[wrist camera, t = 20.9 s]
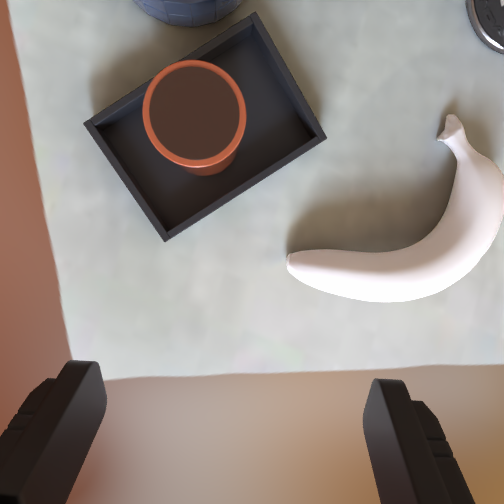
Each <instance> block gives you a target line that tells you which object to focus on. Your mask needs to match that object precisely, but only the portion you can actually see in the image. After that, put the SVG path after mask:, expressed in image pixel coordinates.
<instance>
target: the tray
mask: <svg viewBox="0 0 504 504" xmlns="http://www.w3.org/2000/svg"><path fill="white" fill-rule="evenodd" d="M183 60H201V61H206V62H209V63H212V64H214V65H216V66H218V67H220V68H221V69H223V70H224V71H225V72H227V73H228V74H229V75H230V76H231V77H232V78H233V80H234V81H235V82H236V84H237V85H238V87H239V88H240V90H241V92H242V95H243V98H244V101H245V105H246V113H247V115H246V126H245V130H244V134H243V137H242V140H241V143H240V146H239V149H238V152H237V155H236V157H235V159H234V161H233V162H232V163H231V165H230V166H229V167H228V168H226V169H225V170H224V171H222V172H220V173H218V174H216V175H212V176H197V175H194V174H191V173H189V172H187V171H185V170H184V169H182V168H181V167H179V166H178V165H176V164H175V163H173V162H172V161H170V160H169V159H167V158H166V157H165V156H163V155H162V154H161V153H160V152H159V151H158V150H157V149H156V148H155V146H154V145H153V144H152V142H151V141H150V139H149V137H148V135H147V132H146V130H145V126H144V123H143V114H142V108H143V101H144V96H145V93H146V91H147V88H148V86H149V85H150V83H151V81H152V80H153V79H154V78H152V79H151V80H149V81H148V82H146V83H144V84H143V85H141V86H140V87H138V88H137V89H135V90H134V91H132V92H131V93H129V94H127V95H126V96H124V97H123V98H121V99H120V100H118V101H117V102H115V103H114V104H112V105H111V106H109V107H107V108H106V109H104V110H103V111H101V112H100V113H98V114H97V115H95V116H94V117H92V118H91V119H89V120H87V121H86V122H84V123H83V124H84V126H85V127H86V128H87V130H88V131H89V133H90V134H91V136H92V137H93V139H94V140H95V142H96V143H97V145H98V146H99V147H100V149H101V150H102V152H103V153H104V155H105V156H106V158H107V159H108V161H109V162H110V163H111V165H112V166H113V168H114V169H115V171H116V172H117V174H118V175H119V177H120V178H121V180H122V181H123V182H124V184H125V185H126V187H127V188H128V190H129V191H130V193H131V194H132V196H133V197H134V198H135V200H136V201H137V203H138V204H139V206H140V207H141V209H142V210H143V212H144V213H145V215H146V216H147V217H148V219H149V220H150V222H151V223H152V225H153V226H154V228H155V229H156V231H157V232H158V233H159V235H160V236H161V238H162V239H163V241H164V242H166V241H168V240H169V239H171V238H173V237H174V236H176V235H177V234H179V233H180V232H182V231H183V230H185V229H187V228H188V227H190V226H191V225H193V224H194V223H196V222H198V221H199V220H201V219H202V218H204V217H205V216H207V215H208V214H210V213H212V212H213V211H215V210H216V209H218V208H219V207H221V206H223V205H224V204H226V203H227V202H229V201H230V200H232V199H233V198H235V197H237V196H238V195H240V194H241V193H243V192H244V191H246V190H248V189H249V188H251V187H252V186H254V185H255V184H257V183H258V182H260V181H262V180H263V179H265V178H266V177H268V176H269V175H271V174H273V173H274V172H276V171H277V170H279V169H280V168H282V167H283V166H285V165H287V164H288V163H290V162H291V161H293V160H294V159H296V158H297V157H299V156H301V155H302V154H304V153H305V152H307V151H308V150H310V149H312V148H313V147H315V146H316V145H318V144H319V143H321V142H322V141H324V140H326V139H327V137H326V135H325V133H324V132H323V130H322V128H321V126H320V124H319V123H318V121H317V119H316V117H315V116H314V114H313V112H312V110H311V108H310V107H309V105H308V103H307V101H306V100H305V98H304V96H303V94H302V92H301V91H300V89H299V87H298V85H297V84H296V82H295V80H294V78H293V76H292V75H291V73H290V71H289V69H288V68H287V66H286V64H285V62H284V61H283V59H282V57H281V55H280V53H279V52H278V50H277V48H276V46H275V45H274V43H273V41H272V39H271V37H270V36H269V34H268V32H267V30H266V29H265V27H264V25H263V23H262V21H261V20H260V18H259V16H258V14H257V13H256V12H254V13H252V14H251V15H250V16H248V17H246V18H245V19H243V20H242V21H240V22H238V23H237V24H235V25H234V26H232V27H231V28H229V29H228V30H226V31H225V32H223V33H221V34H220V35H218V36H217V37H215V38H214V39H212V40H211V41H209V42H208V43H206V44H205V45H203V46H201V47H200V48H198V49H197V50H195V51H194V52H192V53H191V54H189V55H188V56H186V57H184V58H183V59H181V60H180V61H183ZM178 62H179V61H178Z"/></svg>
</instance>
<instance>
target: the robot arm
mask: <svg viewBox="0 0 504 504" xmlns="http://www.w3.org/2000/svg"><path fill="white" fill-rule="evenodd" d="M466 4H467V11H468V16H469V19H470V22H471V25H472V27H473V29H474V31H475V32H476V34H477V36H478V37H479V38H480V39H481V40H482V41H483V43H484V44H486V45H487V46H488V47H489V48H491V49H493V50H494V51H496V52H498V53H501V54H504V0H466ZM106 405H107V395H106V391H105V387H104V383H103V378H102V374H101V370H100V366H99V364H98V362H96V361H78V360H70V361H68V362H67V363H66V364H65V366H64V367H63V369H62V370H61V372H60V373H59V375H58V376H57V378H56V379H53V378H47V379H46V380H45V381H44V382H42V383H41V384H40V385H39V386H38V387H37V388H35V389H34V390H33V391H32V392H31V393H30V394H29V395H28V397H27V398H26V400H25V401H24V402H23V404H22V405H21V407H20V408H19V410H18V413H17V414H15V416H14V417H13V419H12V420H11V422H10V423H9V425H8V428H7V429H6V430H4V432H3V433H2V435H1V436H0V504H65V503H66V501H67V499H68V496H69V494H70V492H71V490H72V488H73V485H74V483H75V481H76V478H77V476H78V474H79V472H80V469H81V467H82V465H83V463H84V460H85V458H86V456H87V454H88V451H89V449H90V447H91V444H92V442H93V440H94V438H95V435H96V433H97V430H98V429H99V426H100V424H101V421H102V419H103V417H104V414H105V410H106ZM363 428H364V435H365V439H366V443H367V447H368V452H369V456H370V460H371V464H372V468H373V472H374V477H375V481H376V485H377V488H378V493H379V497H380V502H381V504H475V502H474V500H473V497H472V495H471V493H470V491H469V488H468V486H467V484H466V482H465V480H464V477H463V475H462V473H461V470H460V468H459V466H458V464H457V461H456V459H455V458H454V457H453V452H452V450H451V448H450V446H449V443H448V442H447V441H446V437H445V434H444V432H443V430H442V428H441V425H440V423H439V421H438V419H437V418H436V416H435V415H434V414H433V413H432V412H431V410H430V409H429V408H428V407H427V406H426V405H425V404H424V402H423V401H413V400H411V399H410V395H409V393H408V390H407V388H406V386H405V384H404V382H403V381H402V380H393V379H374V380H373V382H372V385H371V389H370V392H369V395H368V399H367V402H366V405H365V409H364V413H363Z"/></svg>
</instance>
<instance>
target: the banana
mask: <svg viewBox="0 0 504 504" xmlns="http://www.w3.org/2000/svg"><path fill="white" fill-rule="evenodd" d="M437 141H442V142H443V143H445V144H446V145H447V146H448V147H449V148H450V149H451V150H452V152H453V153H454V155H455V157H456V159H457V170H456V175H455V180H454V184H453V188H452V192H451V196H450V199H449V203H448V205H447V208H446V210H445V213H444V215H443V217H442V218H441V220H440V222H439V223H438V224H437V226H436V227H435V228H434V229H433V230H432V231H431V232H430V233H429V234H428V235H427V236H426V237H425V238H423V239H422V240H420V241H419V242H417V243H416V244H414V245H411V246H409V247H406V248H403V249H400V250H395V251H389V252H380V253H369V252H357V251H346V250H333V249H316V250H306V251H299V252H295V253H292V254H291V253H290V254H289V255H288V256H287V259H286V265H287V268H288V271H289V272H290V273H291V274H292V275H293V276H294V277H296V278H297V279H299V280H300V281H302V282H304V283H305V284H307V285H310V286H312V287H314V288H317V289H320V290H322V291H326V292H329V293H333V294H336V295H340V296H345V297H349V298H354V299H359V300H365V301H373V302H397V301H408V300H413V299H417V298H421V297H425V296H428V295H431V294H434V293H437V292H439V291H441V290H443V289H445V288H447V287H448V286H450V285H452V284H453V283H455V282H456V281H458V280H459V279H460V278H462V277H463V276H464V275H465V274H467V273H468V272H469V271H470V270H471V269H472V268H473V267H474V266H475V265H476V264H477V262H478V261H479V259H480V258H481V257H482V256H483V255H484V253H485V252H486V251H487V250H488V249H489V247H490V245H491V244H492V242H493V240H494V238H495V236H496V234H497V232H498V229H499V227H500V224H501V221H502V218H503V215H504V177H503V174H502V172H501V170H500V169H499V167H498V166H497V165H496V164H495V163H494V162H493V161H491V160H490V159H489V158H487V157H485V156H483V155H481V154H479V153H478V152H477V151H476V150H475V149H474V148H473V147H472V146H471V145H470V144H469V142H468V141H467V139H466V136H465V130H464V127H463V125H462V123H461V122H460V120H459V118H458V117H457V116H456V115H451V114H449V115H447V117H446V124H445V130H444V131H443V132H442V133H441V134H440V136H439V137H438V138H437Z"/></svg>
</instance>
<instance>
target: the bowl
mask: <svg viewBox="0 0 504 504" xmlns="http://www.w3.org/2000/svg"><path fill="white" fill-rule="evenodd" d="M132 1H134V2H135V3H136V4H137V5H138V6H139V7H140V8H141V9H143V10H144V11H145V12H146V13H147V14H149V15H150V16H153V17H155V18H157V19H159V20H161V21H164V22H166V23H168V24H171V25H179V26H188V27H196V26H201V25H205V24H209V23H213V22H216V21H218V20H220V19H221V18H223V17H224V16H226V15H227V14H229V13H231V12H232V11H234V10H235V9H236V8H237V7H238V5H239V4H240V3H241V2H242V0H132Z"/></svg>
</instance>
